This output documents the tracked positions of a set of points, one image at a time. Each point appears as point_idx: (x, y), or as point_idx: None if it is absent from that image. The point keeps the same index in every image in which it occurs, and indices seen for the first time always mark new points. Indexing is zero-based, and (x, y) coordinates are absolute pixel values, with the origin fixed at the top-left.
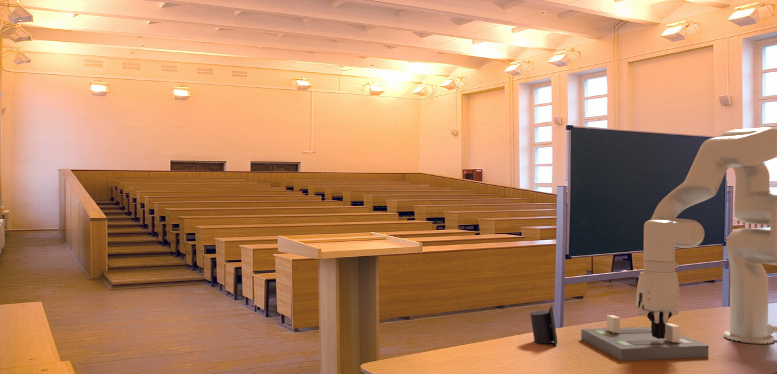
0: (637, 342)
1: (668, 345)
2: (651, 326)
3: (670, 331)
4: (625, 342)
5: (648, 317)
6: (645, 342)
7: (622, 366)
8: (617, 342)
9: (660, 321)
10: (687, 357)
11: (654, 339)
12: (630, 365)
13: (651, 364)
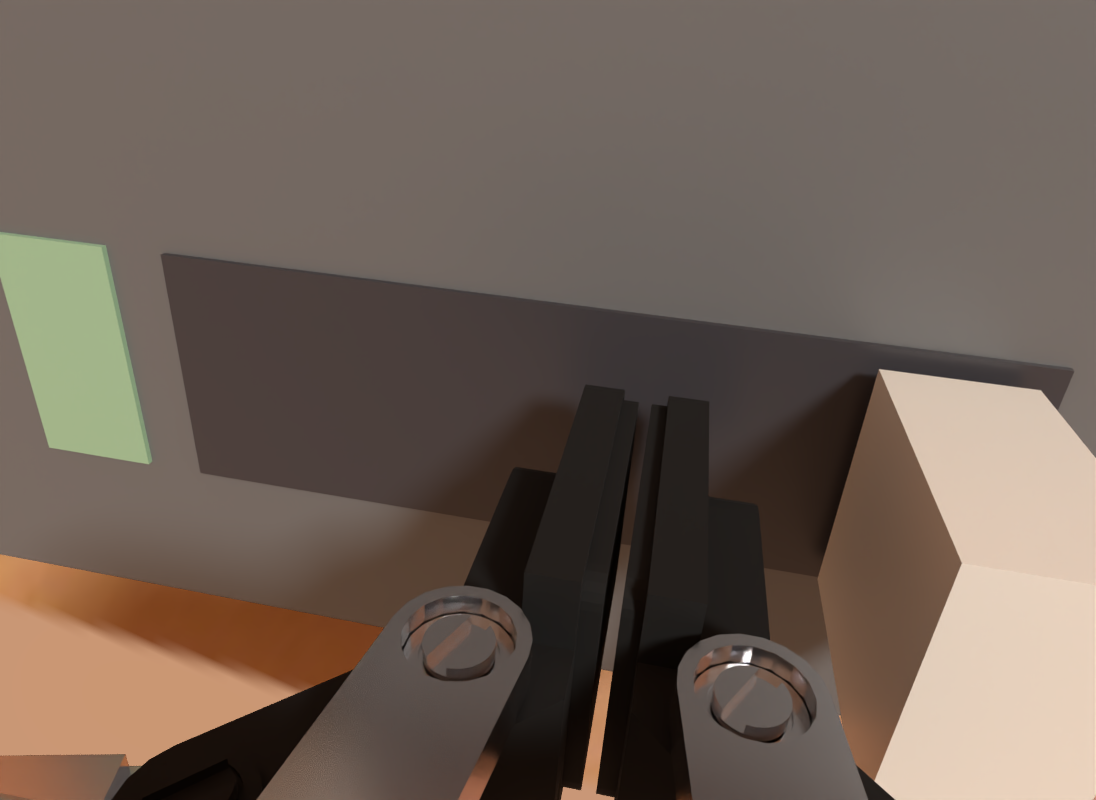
0: (285, 383)
1: None
2: (483, 545)
3: (858, 656)
4: (107, 331)
5: (273, 747)
6: (411, 414)
7: (52, 595)
8: (1, 275)
9: (618, 786)
10: None
11: (719, 266)
12: (128, 596)
13: (328, 632)
